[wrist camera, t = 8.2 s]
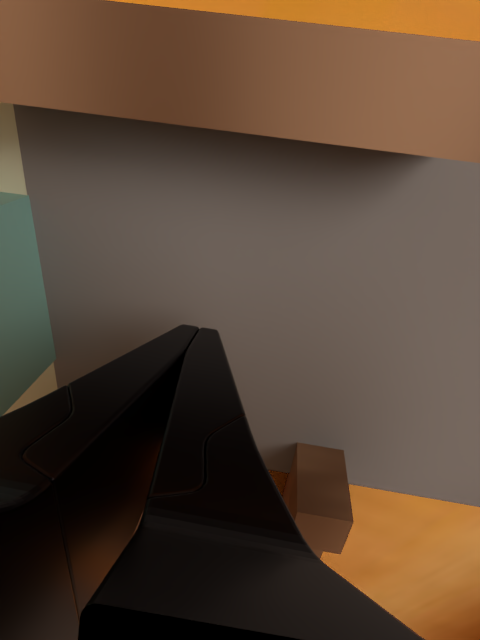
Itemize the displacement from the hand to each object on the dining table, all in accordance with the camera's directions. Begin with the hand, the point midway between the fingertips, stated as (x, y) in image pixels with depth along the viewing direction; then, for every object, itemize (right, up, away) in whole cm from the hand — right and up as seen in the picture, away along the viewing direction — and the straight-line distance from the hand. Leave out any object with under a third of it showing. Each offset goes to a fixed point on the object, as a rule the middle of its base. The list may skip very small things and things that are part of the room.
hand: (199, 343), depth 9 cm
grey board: (+1, +1, +2) cm, 2 cm away
